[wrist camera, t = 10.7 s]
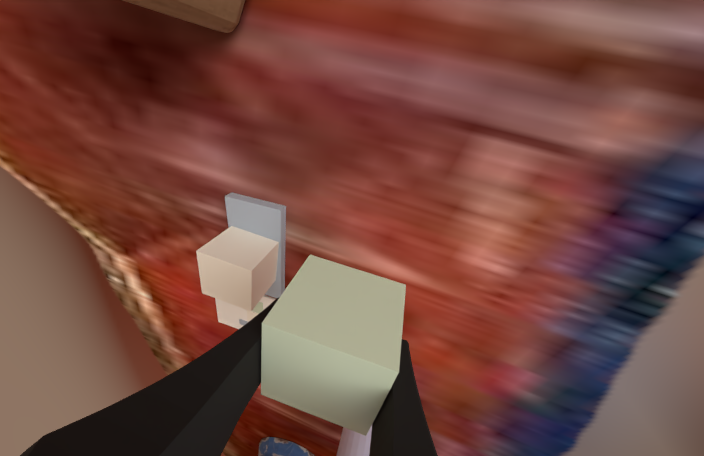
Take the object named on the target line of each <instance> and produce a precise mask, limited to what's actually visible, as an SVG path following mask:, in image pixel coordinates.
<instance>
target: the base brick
mask: <svg viewBox="0 0 704 456" xmlns="http://www.w3.org/2000/svg"><path fill="white" fill-rule="evenodd" d="M225 203H226V211H227V219H228V227H231V226H234V227H237V228H240V229H242V230H245V231H248V232H251V233H254V234H257V235H260V236H263V237H266V238H269V239H272V240H274V241H277V242H279V248H278V260H277V272H276V280H275V282H274V283H273V284H272V285H271V287H270V288H269V289H268V291H267V292H266V293H265V295H268V296H271V297H274V298H279V297H280V296H281V295H282V294H283V292H284V291H285V230H286V206H284V205H280V204H276V203H272V202H268V201H264V200H260V199H256V198H252V197H248V196H244V195H240V194H236V193H230V194H228V195H226V196H225Z"/></svg>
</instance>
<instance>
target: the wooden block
mask: <svg viewBox="0 0 704 456" xmlns="http://www.w3.org/2000/svg"><path fill="white" fill-rule="evenodd" d="M122 1H125V2H128V3H131V4H135V5H138V6H141V7H144V8H147V9H150V10H153V11H156V12H160V13H163V14H166V15H169V16H172V17H175V18H178V19H181V20H184V21H188V22H191V23H194V24H197V25H200V26H203V27H206V28H209V29H212V30H216V31H220V32H224V33H229V32H233V30H234V29H235V28H236V26H237V25H238V23H239V20H240V17H241V13H242V10H243V6H244V3H245V0H122Z"/></svg>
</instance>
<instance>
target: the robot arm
mask: <svg viewBox="0 0 704 456" xmlns="http://www.w3.org/2000/svg"><path fill="white" fill-rule="evenodd" d="M279 298H280V297H279ZM279 298H277V299H275V300H274V301H273V302H272V303H271V304H270V305H269V306H267V307H266V308H265V309H264V310H263V311H262V312H260V313H259V314H258V315H257V316H255V317H254V318H253V319H252V320H250V321H249V322H248V323H246V324H245V325H244V326H243V327H241V328H240V329H239V330H237V331H236V332H235V333H233V334H232V335H231V336H229V337H228V338H226V339H225V340H223V341H222V342H221V343H219V344H218V345H216V346H215V347H214V348H212V349H211V350H209V351H208V352H206V353H204V354H203V355H201V356H200V357H198V358H197V359H195V360H193V361H192V362H190V363H189V364H187V365H185V366H184V367H182V368H180V369H179V370H177V371H175V372H173V373H172V374H170V375H168V376H166V377H165V378H163V379H161V380H159V381H158V382H156V383H154V384H152V385H150V386H148V387H146V388H144V389H142V390H140V391H139V392H137V393H135V394H133V395H131V396H129V397H127V398H125V399H123V400H121V401H119V402H117V403H115V404H113V405H111V406H109V407H106V408H104V409H102V410H100V411H98V412H96V413H94V414H91V415H89V416H87V417H85V418H82V419H80V420H78V421H76V422H73V423H71V424H69V425H67V426H64V427H62V428H60V429H58V430H56V431H53V432H51V433H49V434H47V435H45V436H43V437H42V438H41V439H39V440H38V441H37V442H36V443H34V444H33V445H32V446H31V447H30V448H28V449H27V450H26V451H25V452H23V453H22V454H21V455H20V456H220V455H221V453H222V451H223V449H224V447H225V445H226V443H227V441H228V439H229V438H230V436H231V434H232V432H233V430H234V428H235V426H236V424H237V422H238V420H239V418H240V416H241V414H242V413H243V411H244V409H245V407H246V406H247V404H248V402H249V401H250V399H251V397H252V396H253V394H254V393H255V391H256V389H257V388H258V386H259V384H260V383H261V350H262V322H263V321H264V319H265V318H266V316H267V315H268V313H269V312H270V311H271V309H272V308H273V306H274V305H275V304H276V302H277V301H278V299H279ZM337 456H438V455H437V452H436V450H435V447H434V444H433V441H432V438H431V435H430V431H429V428H428V425H427V422H426V418H425V415H424V411H423V408H422V404H421V401H420V397H419V393H418V389H417V385H416V381H415V376H414V372H413V367H412V362H411V357H410V351H409V343H408V342H407V341H406V340H403V339H402V341H401V353H400V366H399V373H398V375H397V377H396V379H395V381H394V383H393V385H392V387H391V389H390V391H389V393H388V395H387V396H386V398H385V400H384V402H383V404H382V406H381V408H380V410H379V412H378V414H377V416H376V418H375V420H374V422H373V424H372V425H371V427H370V429H369V431H368V433H367V435H366V436H365V435H362V434H360V433H357V432H355V431H352V430H350V429H347V428H345V427H343V431H342V435H341V439H340V443H339V448H338V452H337Z"/></svg>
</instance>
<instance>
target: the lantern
mask: <svg viewBox="0 0 704 456" xmlns="http://www.w3.org/2000/svg"><path fill="white" fill-rule="evenodd" d="M258 456H315V455H313V454H312V453H311V452H310V451H308V450H307V449H305V448H303V447H301V446H299V445H297V444H296V443H293V442H290V441H287V440H284V439H281V438H274V437H267V438H262V440H261V441H260V443H259V454H258Z"/></svg>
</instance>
